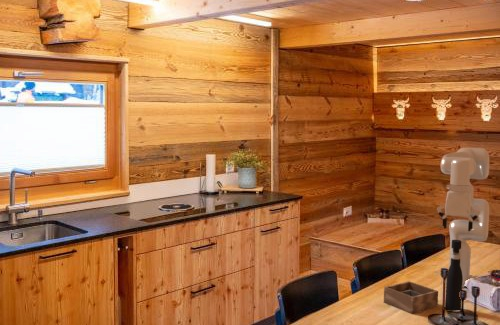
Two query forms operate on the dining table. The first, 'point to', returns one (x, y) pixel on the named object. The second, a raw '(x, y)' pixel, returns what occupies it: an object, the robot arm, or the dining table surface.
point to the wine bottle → (454, 279)
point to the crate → (410, 297)
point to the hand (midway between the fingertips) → (457, 229)
